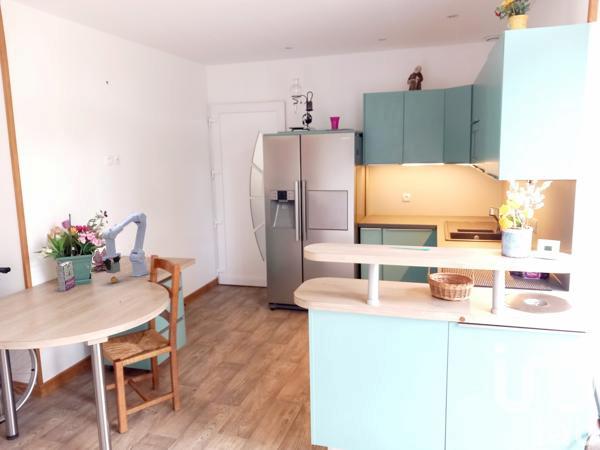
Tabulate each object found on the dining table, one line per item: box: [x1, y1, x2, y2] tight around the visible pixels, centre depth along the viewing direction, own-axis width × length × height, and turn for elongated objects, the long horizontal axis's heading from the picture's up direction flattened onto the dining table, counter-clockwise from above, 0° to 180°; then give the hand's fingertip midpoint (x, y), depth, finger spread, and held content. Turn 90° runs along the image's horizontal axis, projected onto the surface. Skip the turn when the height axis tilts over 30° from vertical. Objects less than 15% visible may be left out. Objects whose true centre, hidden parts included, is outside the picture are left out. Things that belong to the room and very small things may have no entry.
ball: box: [110, 276, 118, 284], centre depth 294 cm, size 4×4×4 cm
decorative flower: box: [91, 247, 114, 272], centre depth 329 cm, size 21×21×15 cm
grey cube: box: [105, 261, 121, 274], centre depth 293 cm, size 6×6×6 cm
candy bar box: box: [55, 261, 76, 292], centre depth 282 cm, size 11×5×16 cm, turn 179°
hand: (112, 268), depth 293 cm, fingers closed on grey cube, 6 cm apart
